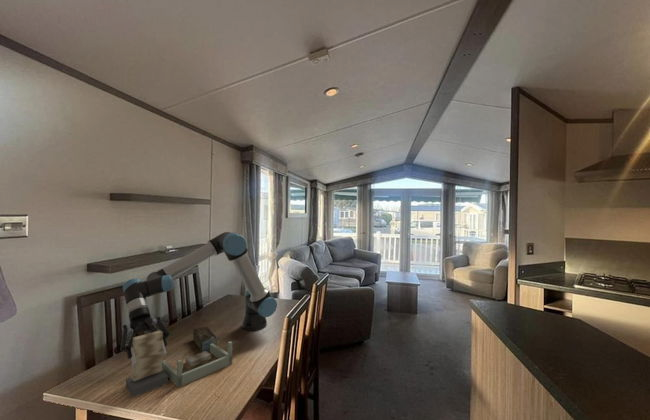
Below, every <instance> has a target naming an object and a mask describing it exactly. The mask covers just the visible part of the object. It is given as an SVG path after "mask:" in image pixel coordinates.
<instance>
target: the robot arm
mask: <svg viewBox="0 0 650 420" xmlns="http://www.w3.org/2000/svg"><path fill="white" fill-rule="evenodd" d="M248 252H249V249H248V247H247V240H246V238H245V237H244V236H243V235H242V234H241V233H237V232H230V231H225V232H222V233H220V234H218V235H216V236H215V237H213V238H212V239H210V240H208V241H207V243H206V244H204V245H202V246H200V247H198V248H196V249H195V250H193V251H191V252H189V253H187V254H186V255H184V256H182V257H180V258H179V259H176V260H175V261H173V262H171V263H169V264H168V265H166V266H164V267H162V268H160V269H158V270H156V271H151V272H150V273H148V275H147V276H146V280H144V281H142V280H141V278H131V279H128V280H126V281H125V282H124V283H123V285H122V290H123V295H124V296H123V297H124V300H125V304H126V309H127V313H128V319H129V324H124V325H123V326H122V327H121V332H122V337H121V342H120V347H119V348H120V349H119V351H120V352H125V353H126V357H127V359H128V360H130V361H131V367H132V366H133V367H134V366H135V365H136V358H135V353H134V349H133V347H132V346H133V338H134V337H137V333H138V334H139V333H142V332H149V333H152V332H156V331H159V330H161V331H162V332H163V348H162V357H165V356H166V355H167V349H166V347H167V346H168V343H167V340H166V339H168V337H169V336H170V333H169V331H168V330H167V328H166V327H165V326H164V324H163V323H162V321H161V318H160V316H157V317H156V318H152V315H151V311H150V309H149V305H148V301H147V298H149V297H152V296H156V295H159V294H163V293H167V292H168V291H172V290H173V289H174V281H173V279H175V278H177V277H178V276H181V275H182V274H183V273H185V272H187V271H189V270H190V269H192V268H194V267H196V266H197V265H199V264H202V263H203V262H204V261H206V260H209V258H211V257H214V256H218V255H220V254H223V253H224V254H225V256H226V259H228V261H229V262H232V263H233V266H234V267H235V269H236V270H237V272H238V275H239V276H240V278H241V280H242V282H243V284H244V286H245V288H246V291H245V295H244V299H245V301H244V304H245V305H244V308H245V309H244V317H243V319H242V323H241V328H242V329H243V330H246V331H258V330H262V329H265V328H266V327H267V325H268V321H267V318H269V317H272V315H274V313H276V311H277V308H278V301H277V299H275V297H273V296H272V295H271V292H270V291H269V289H268V288H266V287H264V285H263V282H262V281H261V279H260V276H259V275H258V273H257V271H256V268H255V267H254V265H253V263H252V261H251V260H250V258H249V255H248ZM152 323H154V324H155V326H156V327H157V328H156V327H155V326H154V324H152ZM130 329H131V330H133V333H132V335H131V337H130V339H129V342H128V344H127V345H126V343H127V337H128V331H129V330H130Z"/></svg>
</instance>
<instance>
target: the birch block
mask: <svg viewBox="0 0 650 420" xmlns="http://www.w3.org/2000/svg"><path fill="white" fill-rule="evenodd" d="M132 347H133V349H134V353H135V358H136V365H135V366H134V367H133V366H132V365H131V377H132V379H133V381H136V380H139V379H142V378H144V377H147V376H150V375H152V374H155V373H158V372H160V371H162V361H163V355H162V348H163V332H162V331H161V330H159V329H158V331H156V332H152V333H151V332H149V333H145V334H142V335H138V336H137V335H136V336H135V337H134V338H133V343H132V345H131V348H132Z"/></svg>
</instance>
